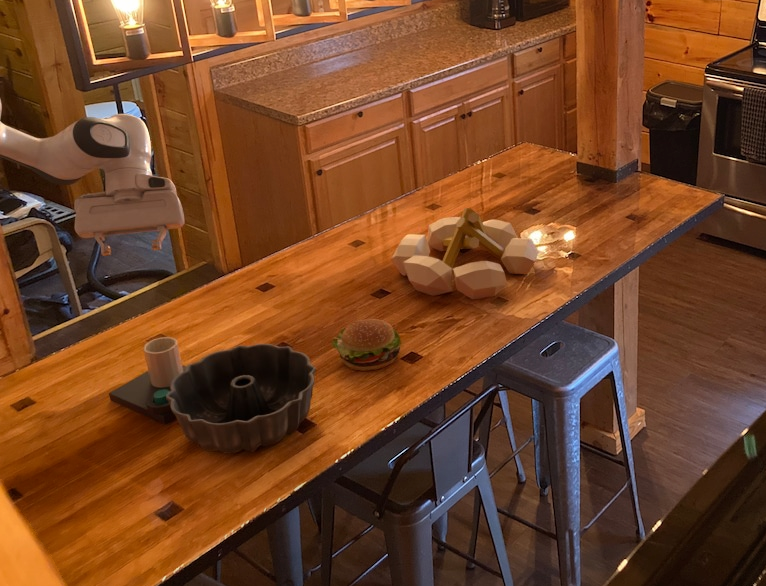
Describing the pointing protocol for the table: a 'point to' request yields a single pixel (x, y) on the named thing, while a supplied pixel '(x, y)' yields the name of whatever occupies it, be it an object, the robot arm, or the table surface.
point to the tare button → (160, 396)
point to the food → (368, 344)
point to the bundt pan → (243, 397)
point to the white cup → (162, 361)
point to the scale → (143, 398)
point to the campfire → (451, 238)
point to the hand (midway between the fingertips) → (131, 252)
